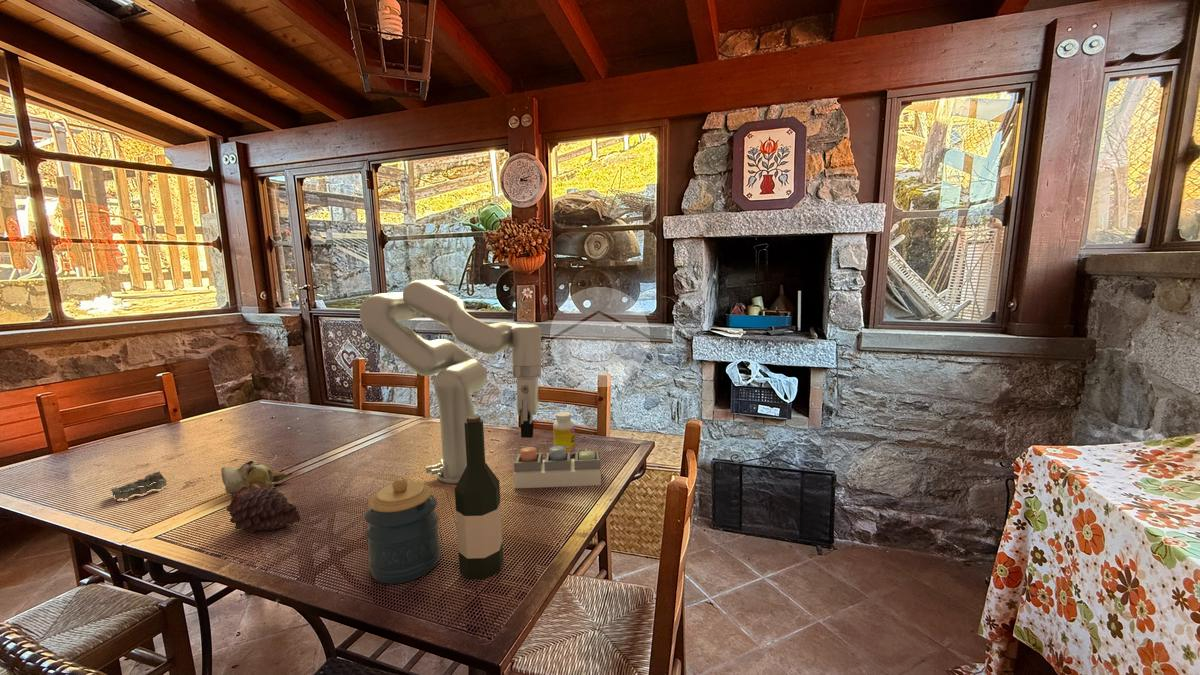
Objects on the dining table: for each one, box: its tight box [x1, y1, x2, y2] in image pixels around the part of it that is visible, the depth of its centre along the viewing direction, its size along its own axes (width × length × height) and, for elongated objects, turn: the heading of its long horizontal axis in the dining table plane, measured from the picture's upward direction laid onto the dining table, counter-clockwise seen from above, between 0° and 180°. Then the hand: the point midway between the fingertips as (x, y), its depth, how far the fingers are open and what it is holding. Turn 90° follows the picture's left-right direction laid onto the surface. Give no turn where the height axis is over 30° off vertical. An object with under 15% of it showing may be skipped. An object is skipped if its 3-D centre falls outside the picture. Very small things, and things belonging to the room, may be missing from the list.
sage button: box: [579, 450, 595, 460], centre depth 129 cm, size 4×4×3 cm
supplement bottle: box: [552, 411, 576, 456], centre depth 148 cm, size 7×7×13 cm
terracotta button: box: [519, 446, 538, 462], centre depth 128 cm, size 4×4×3 cm
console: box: [513, 450, 602, 489], centre depth 129 cm, size 23×9×6 cm, turn 92°
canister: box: [364, 477, 441, 585], centre depth 91 cm, size 13×13×18 cm
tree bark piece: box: [110, 471, 167, 500], centre depth 126 cm, size 10×7×4 cm
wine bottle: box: [454, 414, 504, 580], centre depth 89 cm, size 8×8×30 cm
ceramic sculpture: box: [220, 460, 293, 495], centre depth 126 cm, size 11×9×15 cm
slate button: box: [549, 445, 566, 461], centre depth 129 cm, size 4×4×3 cm
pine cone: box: [226, 486, 301, 533], centre depth 107 cm, size 18×10×10 cm
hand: (527, 436), depth 128 cm, fingers closed
